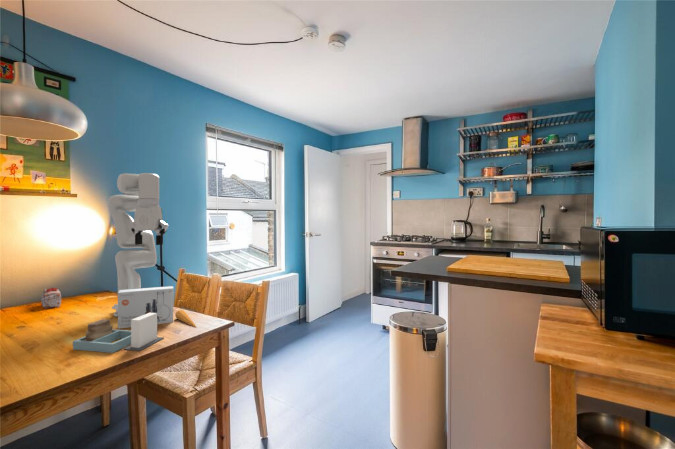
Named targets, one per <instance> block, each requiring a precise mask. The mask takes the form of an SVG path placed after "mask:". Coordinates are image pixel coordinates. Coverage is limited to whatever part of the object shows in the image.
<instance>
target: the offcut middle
mask: <svg viewBox="0 0 675 449" xmlns="http://www.w3.org/2000/svg"><path fill="white" fill-rule="evenodd" d="M113 326H114V325H113V324H110V326H109V327H107V328H104V329H102V330H99V331H97V332H94V331H88V330H86V331H85V336H86V340H95V339H98V338H100V337H103V336H105V335H108V334H110V333H113V329H114V327H113Z"/></svg>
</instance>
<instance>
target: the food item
mask: <svg viewBox="0 0 675 449" xmlns="http://www.w3.org/2000/svg"><path fill="white" fill-rule="evenodd" d="M40 300H41V306H42V307H43V308H44V309H48V308H49V309H55V307H57V308H60V307H61V304H62V294H61V291H60V290H59V289H58V288H57V287H50V288H45V289H44V290H43V293H42V294H41V298H40Z"/></svg>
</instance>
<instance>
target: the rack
mask: <svg viewBox="0 0 675 449" xmlns="http://www.w3.org/2000/svg"><path fill="white" fill-rule="evenodd" d="M84 340H86V335H84V336H83V337H80V338H78V339H75V340H72V349H73V350H74V351H75V350H77V351H86V352H87V351H88V352H98V353H100V352H101V353H109V354H113V353H114V354H115V352H118V351H120V350H122V349H124V348H126V347H128V346H130V345H131V330H130V329H129V330H128V329H125V330H124V329H114V328H113V333H110V334H108V335H105V336H103V337H100V338H98V339H95V340H93V341H84Z"/></svg>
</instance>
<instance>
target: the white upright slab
mask: <svg viewBox="0 0 675 449" xmlns="http://www.w3.org/2000/svg"><path fill="white" fill-rule="evenodd" d="M130 331H131V344H130V345H131V347H135V348H140V347H142V346H144V345H146V344H147V343H149V342H151V341H153V340H155V339H157V337H158V324H157V313H147V314H145V315H142V316H140V317H137V318H134V319H132V320H131V327H130Z"/></svg>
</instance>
